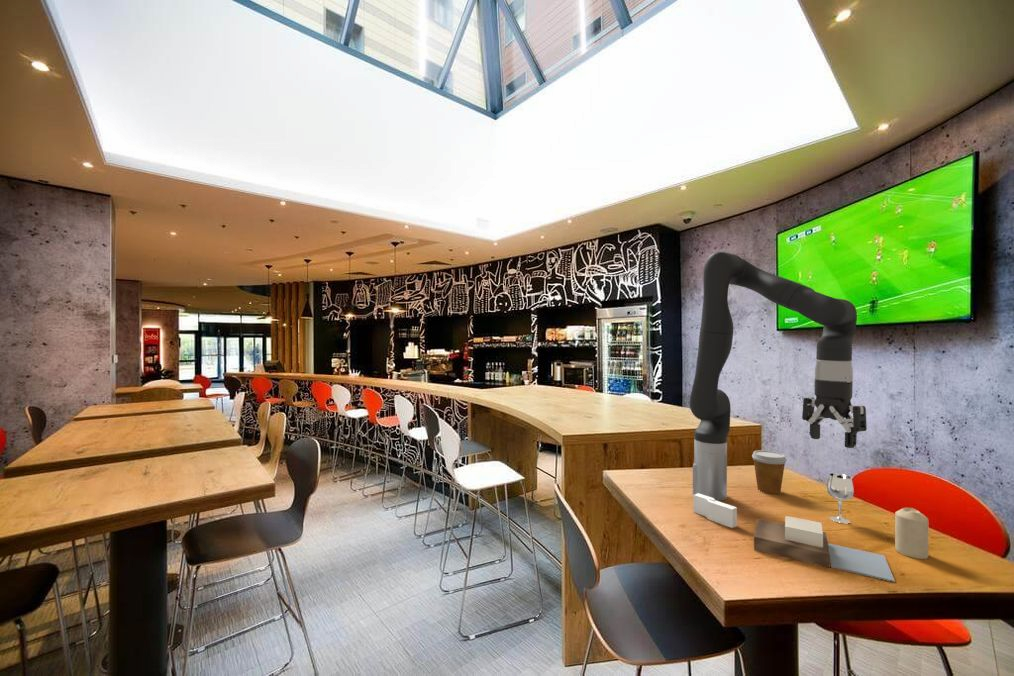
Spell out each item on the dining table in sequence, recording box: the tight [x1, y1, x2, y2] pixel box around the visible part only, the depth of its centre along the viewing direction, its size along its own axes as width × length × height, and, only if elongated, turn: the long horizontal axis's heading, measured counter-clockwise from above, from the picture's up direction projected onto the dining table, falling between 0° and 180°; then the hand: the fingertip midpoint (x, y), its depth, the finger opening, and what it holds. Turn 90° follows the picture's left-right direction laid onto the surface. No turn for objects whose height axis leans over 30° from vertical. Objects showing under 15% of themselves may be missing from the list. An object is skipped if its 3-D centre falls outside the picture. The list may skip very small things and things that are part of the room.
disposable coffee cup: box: [751, 449, 787, 495], centre depth 136 cm, size 10×10×12 cm
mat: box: [828, 543, 896, 583], centre depth 93 cm, size 10×12×1 cm
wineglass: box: [826, 472, 855, 525], centre depth 114 cm, size 6×6×12 cm
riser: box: [753, 518, 831, 569], centre depth 99 cm, size 14×12×3 cm
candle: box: [894, 507, 930, 560], centre depth 97 cm, size 6×6×10 cm
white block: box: [784, 515, 824, 548], centre depth 98 cm, size 7×7×3 cm
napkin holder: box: [693, 493, 738, 529], centre depth 116 cm, size 15×11×6 cm
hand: (831, 443), depth 106 cm, fingers open, 8 cm apart
